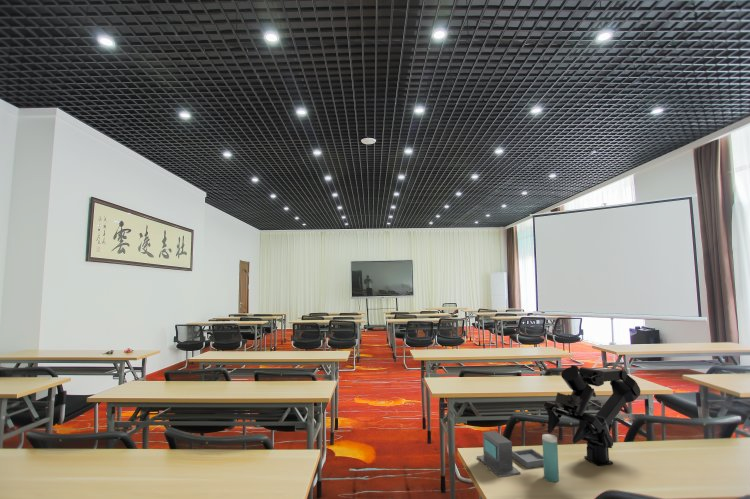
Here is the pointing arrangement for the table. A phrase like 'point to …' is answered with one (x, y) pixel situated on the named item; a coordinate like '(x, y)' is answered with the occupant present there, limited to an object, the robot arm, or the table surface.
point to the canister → (550, 457)
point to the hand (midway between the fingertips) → (560, 437)
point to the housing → (498, 454)
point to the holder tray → (528, 458)
